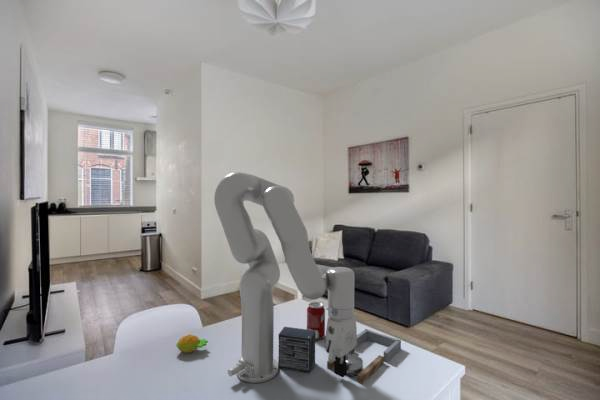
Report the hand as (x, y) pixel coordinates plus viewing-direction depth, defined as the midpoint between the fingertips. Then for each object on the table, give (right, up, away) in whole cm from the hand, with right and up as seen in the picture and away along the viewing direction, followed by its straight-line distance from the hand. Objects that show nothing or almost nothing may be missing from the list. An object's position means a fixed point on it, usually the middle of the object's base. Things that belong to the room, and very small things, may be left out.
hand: (340, 374), depth 86 cm
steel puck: (+4, -2, +5) cm, 6 cm away
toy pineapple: (-48, -1, +15) cm, 50 cm away
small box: (-13, -1, +7) cm, 14 cm away
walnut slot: (+6, -1, +7) cm, 9 cm away
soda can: (-6, -1, +26) cm, 27 cm away
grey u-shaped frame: (+14, -1, +17) cm, 22 cm away
